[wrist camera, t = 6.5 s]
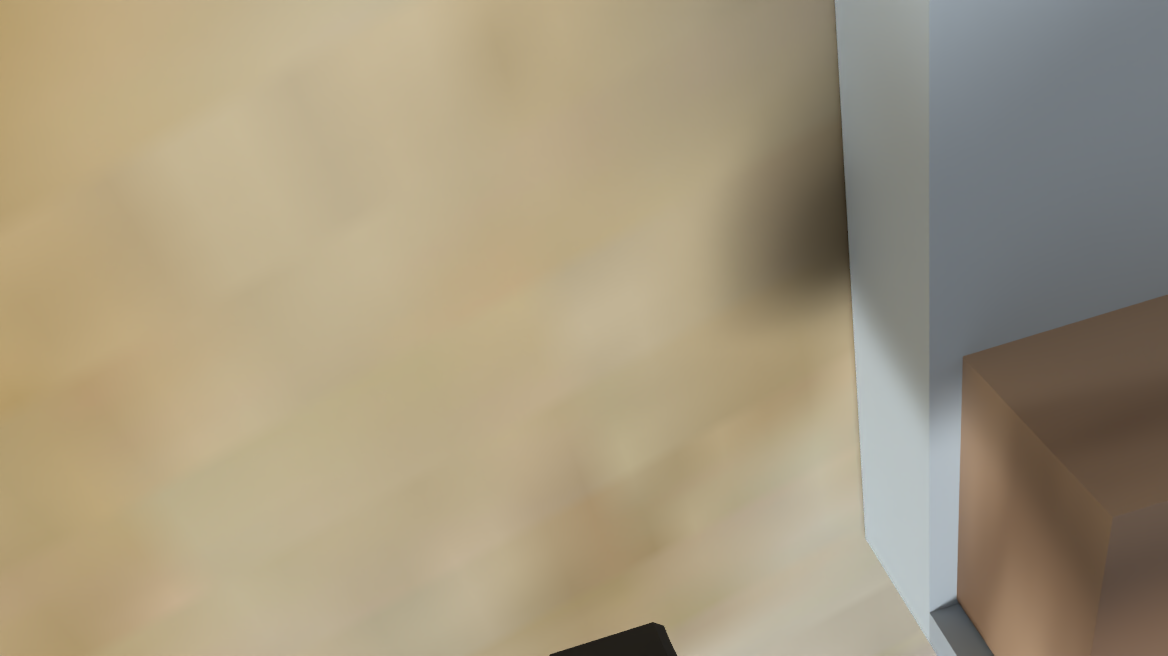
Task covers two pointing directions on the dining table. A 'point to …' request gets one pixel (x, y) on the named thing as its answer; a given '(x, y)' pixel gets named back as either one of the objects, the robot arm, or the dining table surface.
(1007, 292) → the trap tray
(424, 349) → the dining table surface
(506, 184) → the dining table surface
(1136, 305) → the walnut block
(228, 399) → the dining table surface
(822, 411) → the dining table surface
